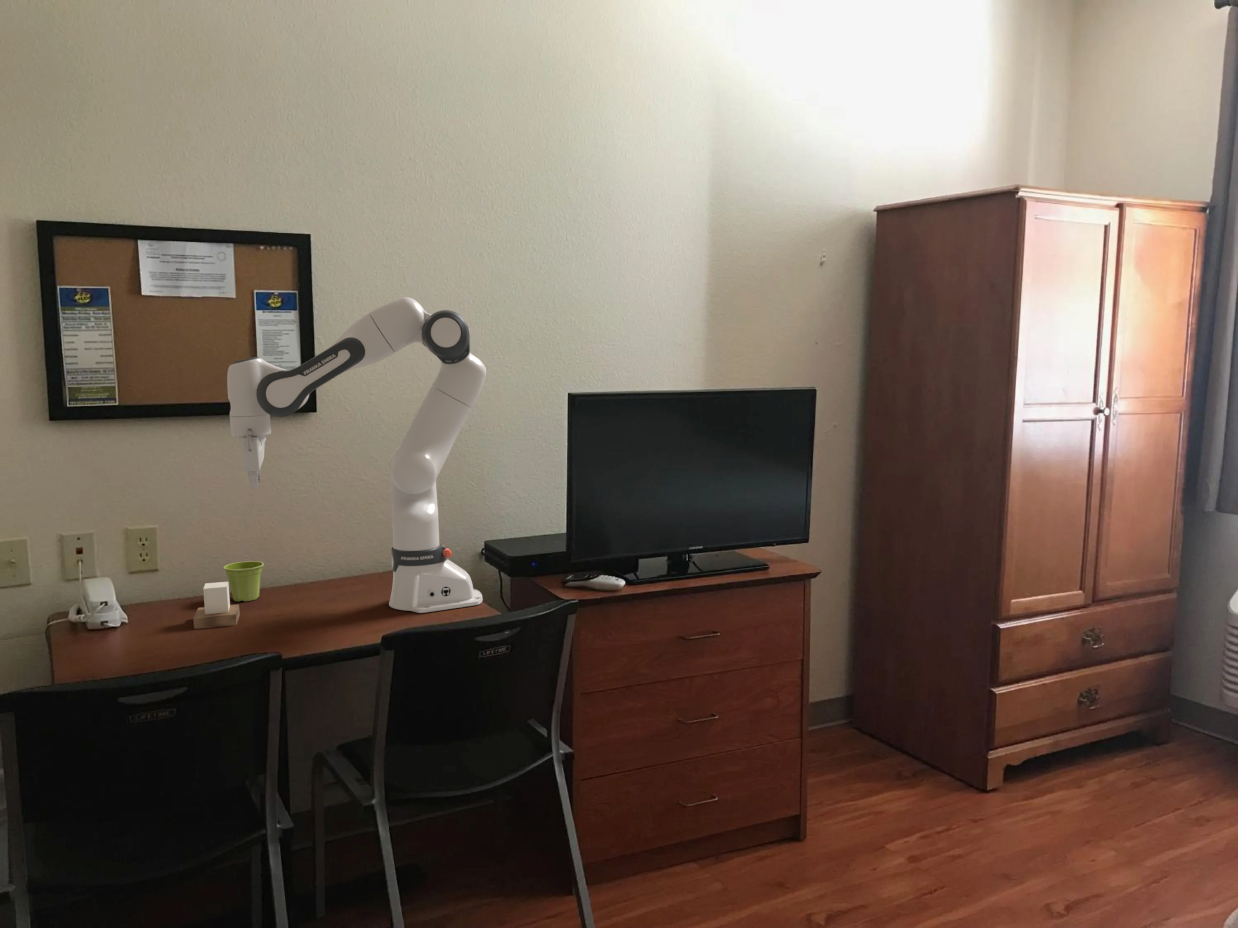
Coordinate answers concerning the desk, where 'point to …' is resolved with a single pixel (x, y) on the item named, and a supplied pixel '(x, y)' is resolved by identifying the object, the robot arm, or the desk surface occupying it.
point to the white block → (216, 597)
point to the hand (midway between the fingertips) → (255, 485)
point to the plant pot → (244, 579)
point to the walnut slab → (216, 618)
